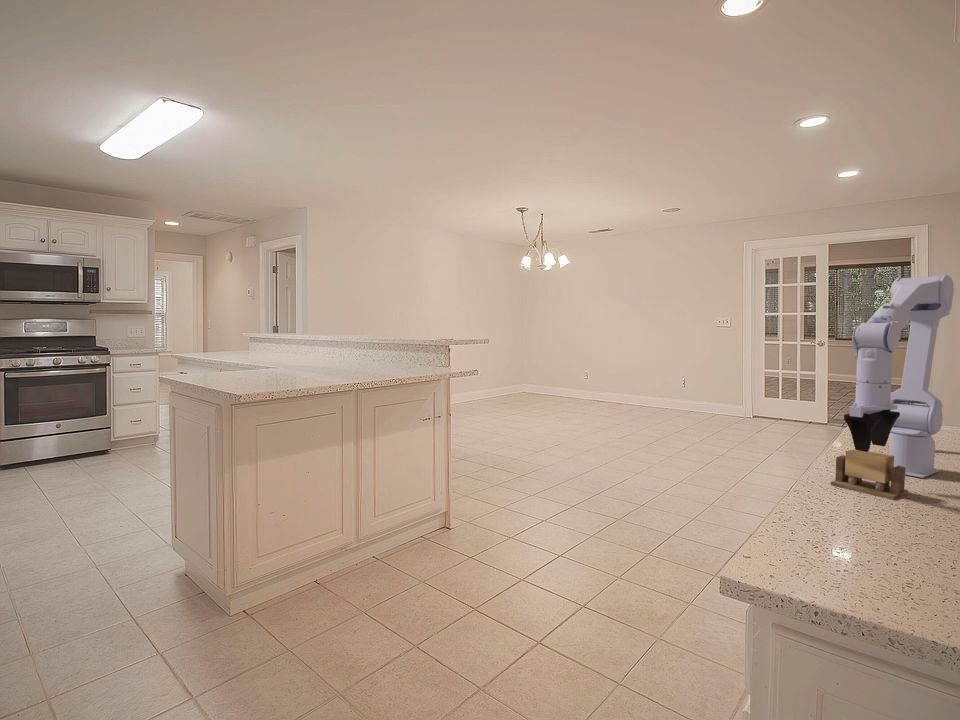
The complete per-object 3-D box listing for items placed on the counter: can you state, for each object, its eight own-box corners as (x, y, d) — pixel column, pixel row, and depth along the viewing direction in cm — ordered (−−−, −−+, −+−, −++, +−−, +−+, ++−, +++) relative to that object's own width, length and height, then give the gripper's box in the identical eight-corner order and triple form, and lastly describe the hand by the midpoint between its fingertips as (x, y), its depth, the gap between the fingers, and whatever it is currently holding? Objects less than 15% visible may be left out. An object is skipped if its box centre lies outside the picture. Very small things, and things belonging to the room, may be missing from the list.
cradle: (846, 479, 114) (847, 453, 114) (908, 493, 105) (909, 465, 104) (830, 484, 110) (831, 458, 110) (893, 499, 101) (894, 471, 101)
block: (853, 471, 111) (854, 448, 111) (893, 479, 105) (894, 455, 105) (844, 474, 109) (845, 451, 109) (884, 483, 103) (885, 458, 103)
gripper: (880, 386, 99) (877, 457, 100) (912, 380, 106) (909, 446, 107) (839, 383, 105) (836, 450, 106) (872, 377, 112) (869, 440, 113)
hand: (870, 448), depth 107 cm, fingers open, 7 cm apart
